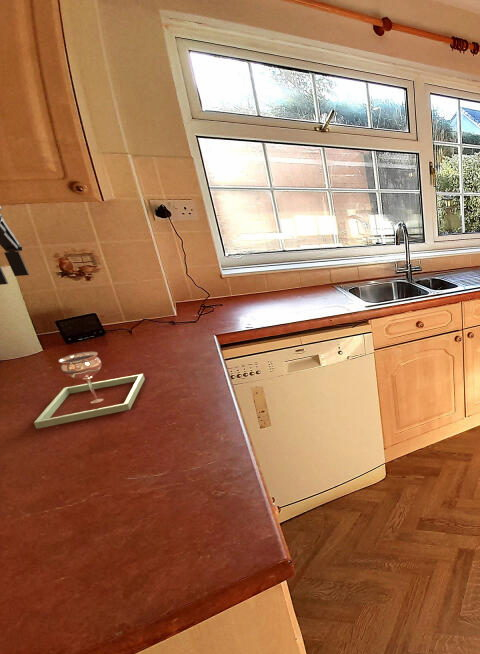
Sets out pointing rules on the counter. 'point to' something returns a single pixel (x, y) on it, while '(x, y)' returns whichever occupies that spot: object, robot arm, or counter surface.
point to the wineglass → (82, 368)
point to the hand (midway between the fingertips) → (11, 279)
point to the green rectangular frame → (46, 421)
